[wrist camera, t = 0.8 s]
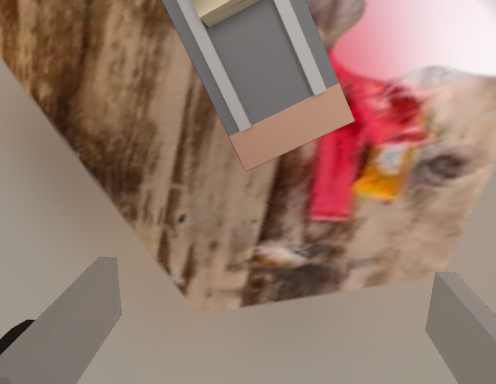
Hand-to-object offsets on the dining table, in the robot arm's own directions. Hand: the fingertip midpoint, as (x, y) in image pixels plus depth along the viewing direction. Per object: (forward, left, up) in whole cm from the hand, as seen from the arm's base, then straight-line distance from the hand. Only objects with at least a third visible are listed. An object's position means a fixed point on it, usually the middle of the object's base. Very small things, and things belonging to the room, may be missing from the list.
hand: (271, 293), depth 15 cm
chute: (-12, +3, -25) cm, 28 cm away
